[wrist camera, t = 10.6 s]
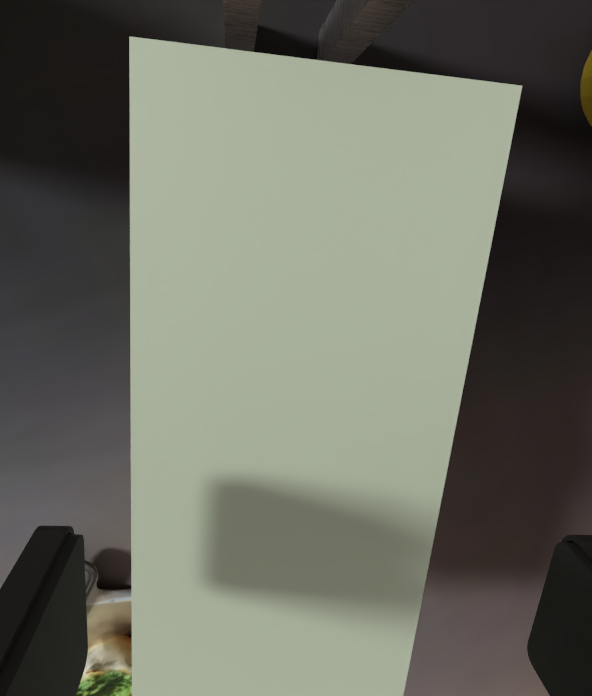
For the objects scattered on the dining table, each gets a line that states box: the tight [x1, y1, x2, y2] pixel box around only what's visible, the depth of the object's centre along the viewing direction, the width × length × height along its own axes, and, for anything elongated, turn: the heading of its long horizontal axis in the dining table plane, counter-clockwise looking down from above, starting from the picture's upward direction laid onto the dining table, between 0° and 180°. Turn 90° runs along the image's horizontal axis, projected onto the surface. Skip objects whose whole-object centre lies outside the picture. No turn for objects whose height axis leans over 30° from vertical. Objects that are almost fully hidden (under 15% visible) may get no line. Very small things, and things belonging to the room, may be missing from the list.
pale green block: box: [129, 36, 522, 696], centre depth 15 cm, size 20×7×5 cm, turn 175°
